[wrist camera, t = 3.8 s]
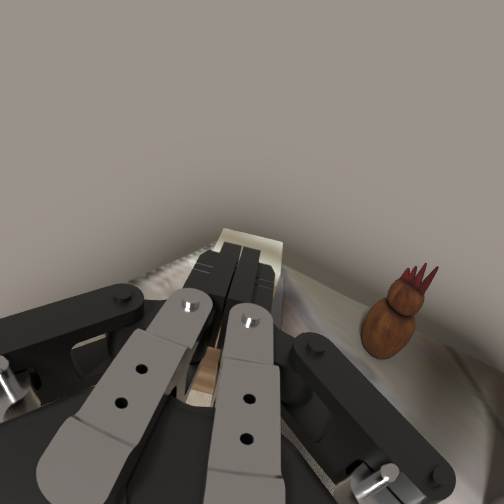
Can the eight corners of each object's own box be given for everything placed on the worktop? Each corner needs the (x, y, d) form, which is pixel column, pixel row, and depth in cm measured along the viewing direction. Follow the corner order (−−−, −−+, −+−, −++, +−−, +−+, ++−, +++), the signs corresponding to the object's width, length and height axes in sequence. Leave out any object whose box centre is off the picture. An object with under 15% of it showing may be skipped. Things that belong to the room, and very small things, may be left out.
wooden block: (239, 400, 30) (280, 274, 22) (191, 389, 30) (209, 257, 22) (246, 365, 34) (282, 242, 26) (202, 355, 34) (224, 228, 26)
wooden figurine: (401, 362, 38) (456, 274, 31) (371, 370, 36) (428, 275, 29) (378, 330, 44) (422, 244, 36) (349, 334, 42) (393, 242, 34)
